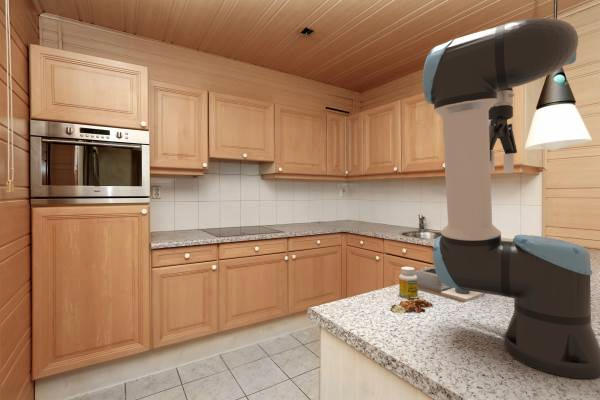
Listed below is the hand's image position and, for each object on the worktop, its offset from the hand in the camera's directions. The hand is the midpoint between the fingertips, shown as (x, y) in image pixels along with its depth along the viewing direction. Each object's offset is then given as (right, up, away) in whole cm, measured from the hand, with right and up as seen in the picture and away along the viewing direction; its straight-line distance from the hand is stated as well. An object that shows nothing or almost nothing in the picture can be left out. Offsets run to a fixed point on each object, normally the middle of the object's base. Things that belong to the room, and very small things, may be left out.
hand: (499, 172), depth 99 cm
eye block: (-19, -38, +4) cm, 43 cm away
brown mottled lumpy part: (-34, -40, -13) cm, 54 cm away
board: (-17, -39, 0) cm, 43 cm away
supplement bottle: (-32, -40, -5) cm, 51 cm away
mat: (-15, -38, -5) cm, 41 cm away
